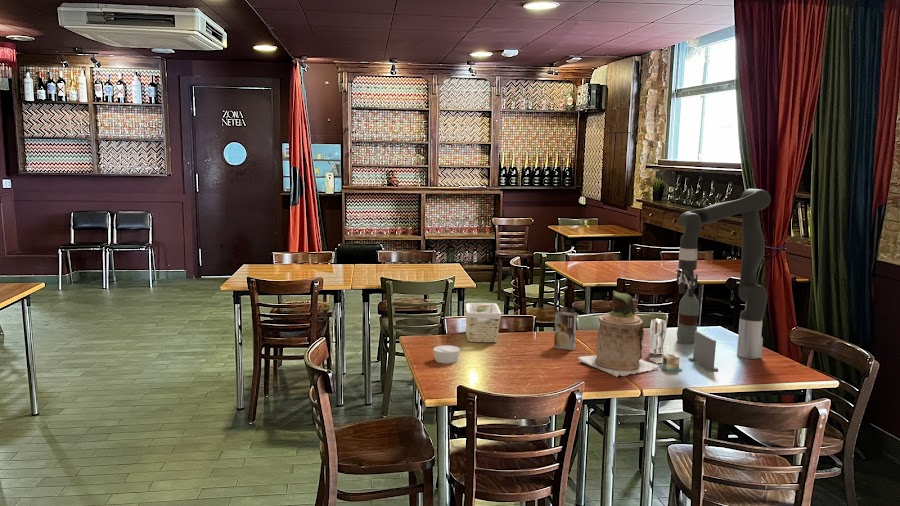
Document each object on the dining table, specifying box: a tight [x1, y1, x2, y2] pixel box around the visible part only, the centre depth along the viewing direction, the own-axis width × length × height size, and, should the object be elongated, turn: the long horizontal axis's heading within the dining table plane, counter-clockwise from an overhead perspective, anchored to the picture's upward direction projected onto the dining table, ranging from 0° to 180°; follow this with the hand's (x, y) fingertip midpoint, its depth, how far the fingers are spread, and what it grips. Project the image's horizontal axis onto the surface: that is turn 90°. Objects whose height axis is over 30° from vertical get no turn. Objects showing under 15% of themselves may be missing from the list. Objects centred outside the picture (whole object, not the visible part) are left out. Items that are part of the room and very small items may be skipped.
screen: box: [688, 330, 719, 372], centre depth 287 cm, size 5×16×13 cm, turn 7°
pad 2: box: [658, 364, 683, 372], centre depth 282 cm, size 7×7×1 cm
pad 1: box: [648, 357, 663, 365], centre depth 292 cm, size 7×7×1 cm
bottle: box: [676, 284, 700, 345], centre depth 324 cm, size 9×9×30 cm
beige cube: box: [661, 353, 680, 369], centre depth 282 cm, size 5×5×5 cm
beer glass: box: [649, 318, 667, 355], centre depth 304 cm, size 7×7×15 cm
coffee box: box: [553, 311, 578, 351], centre depth 309 cm, size 9×6×16 cm
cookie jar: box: [578, 290, 659, 378], centre depth 282 cm, size 25×25×32 cm
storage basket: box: [465, 302, 502, 343], centre depth 325 cm, size 24×16×15 cm
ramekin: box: [432, 344, 461, 365], centre depth 286 cm, size 11×11×5 cm
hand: (686, 295), depth 294 cm, fingers open, 8 cm apart
